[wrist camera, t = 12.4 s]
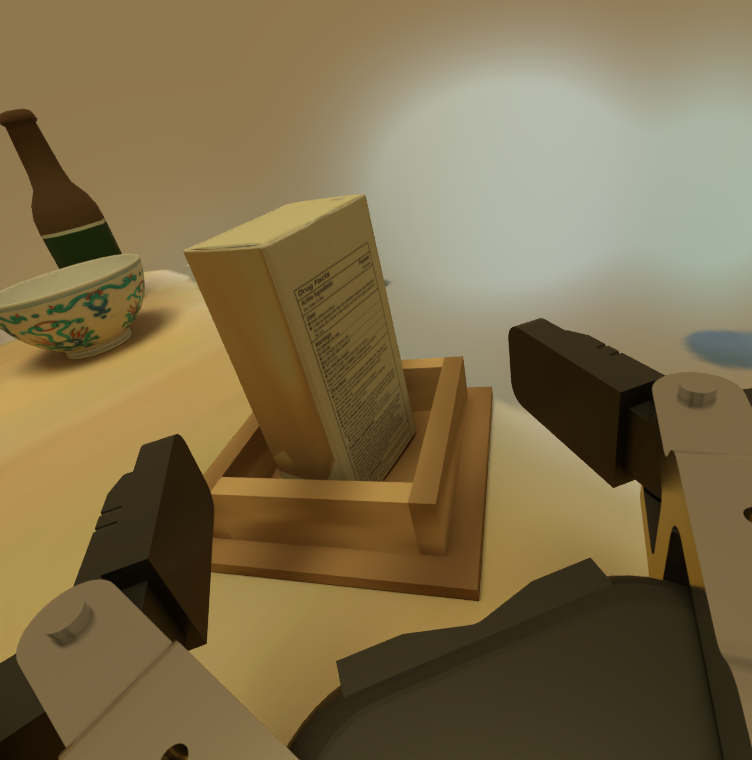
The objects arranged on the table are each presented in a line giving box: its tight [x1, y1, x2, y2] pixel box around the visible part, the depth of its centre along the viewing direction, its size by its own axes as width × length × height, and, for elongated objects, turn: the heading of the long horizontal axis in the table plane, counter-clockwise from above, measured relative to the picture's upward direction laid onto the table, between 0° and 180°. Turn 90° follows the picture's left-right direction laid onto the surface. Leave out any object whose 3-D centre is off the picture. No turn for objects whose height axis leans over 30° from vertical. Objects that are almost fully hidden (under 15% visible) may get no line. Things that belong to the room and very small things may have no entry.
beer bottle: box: [0, 109, 122, 269], centre depth 58 cm, size 8×8×24 cm
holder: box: [203, 356, 493, 600], centre depth 23 cm, size 13×13×3 cm
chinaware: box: [0, 254, 144, 359], centre depth 48 cm, size 15×15×8 cm
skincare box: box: [183, 194, 416, 482], centre depth 20 cm, size 6×4×12 cm
